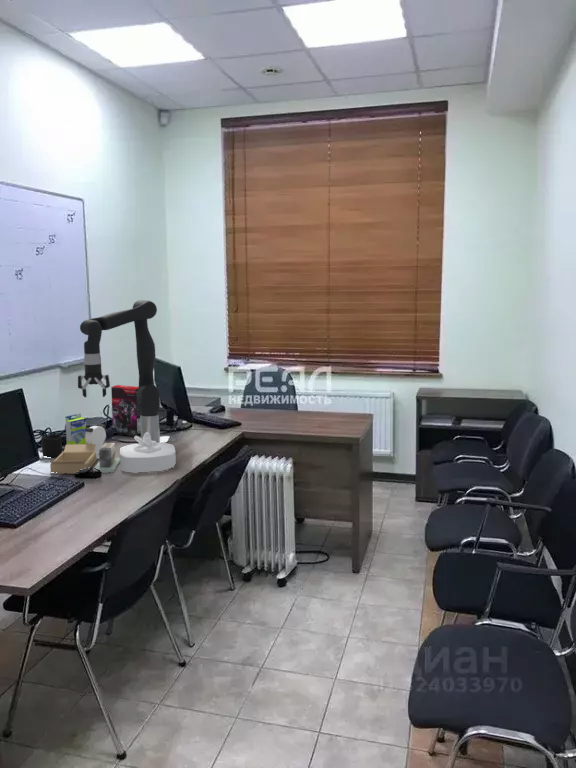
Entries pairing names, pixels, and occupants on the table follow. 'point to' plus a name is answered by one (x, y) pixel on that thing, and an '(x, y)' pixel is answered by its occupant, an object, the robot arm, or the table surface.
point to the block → (107, 454)
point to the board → (108, 469)
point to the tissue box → (147, 455)
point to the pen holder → (52, 445)
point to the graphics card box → (126, 410)
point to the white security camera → (96, 437)
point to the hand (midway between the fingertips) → (94, 396)
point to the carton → (74, 458)
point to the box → (75, 429)
